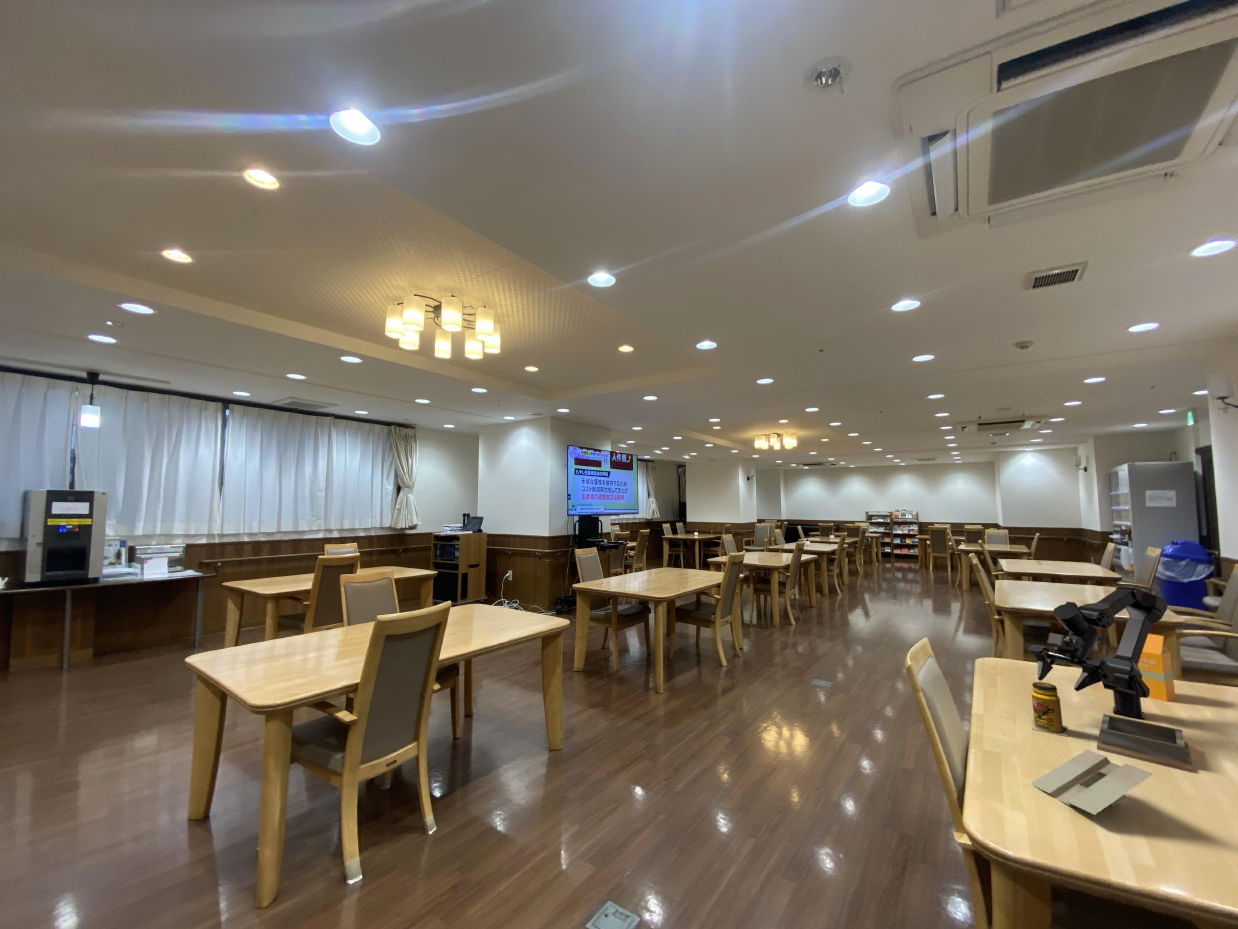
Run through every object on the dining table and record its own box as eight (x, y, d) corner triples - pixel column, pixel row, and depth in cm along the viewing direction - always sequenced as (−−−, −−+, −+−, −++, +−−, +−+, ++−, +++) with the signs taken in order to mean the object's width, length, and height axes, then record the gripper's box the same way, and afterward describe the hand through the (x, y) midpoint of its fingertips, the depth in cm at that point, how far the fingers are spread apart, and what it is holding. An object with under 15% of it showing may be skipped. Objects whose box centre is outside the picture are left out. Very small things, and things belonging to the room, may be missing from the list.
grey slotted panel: (1135, 856, 91) (1183, 797, 93) (1094, 815, 93) (1142, 757, 95) (1063, 818, 107) (1105, 768, 109) (1029, 784, 109) (1071, 735, 111)
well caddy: (1101, 726, 138) (1100, 710, 139) (1188, 745, 127) (1186, 727, 127) (1097, 749, 125) (1095, 731, 125) (1193, 772, 113) (1190, 753, 114)
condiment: (1032, 729, 137) (1028, 684, 138) (1032, 720, 143) (1028, 677, 144) (1067, 737, 132) (1063, 690, 133) (1066, 727, 138) (1061, 682, 140)
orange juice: (1167, 701, 157) (1159, 637, 159) (1129, 693, 165) (1122, 631, 167) (1176, 697, 160) (1168, 634, 163) (1138, 689, 168) (1131, 629, 170)
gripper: (1029, 617, 152) (1006, 656, 148) (1103, 630, 134) (1079, 675, 130) (1050, 641, 154) (1028, 681, 149) (1125, 658, 136) (1102, 703, 131)
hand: (1056, 684), depth 140 cm, fingers open, 9 cm apart
